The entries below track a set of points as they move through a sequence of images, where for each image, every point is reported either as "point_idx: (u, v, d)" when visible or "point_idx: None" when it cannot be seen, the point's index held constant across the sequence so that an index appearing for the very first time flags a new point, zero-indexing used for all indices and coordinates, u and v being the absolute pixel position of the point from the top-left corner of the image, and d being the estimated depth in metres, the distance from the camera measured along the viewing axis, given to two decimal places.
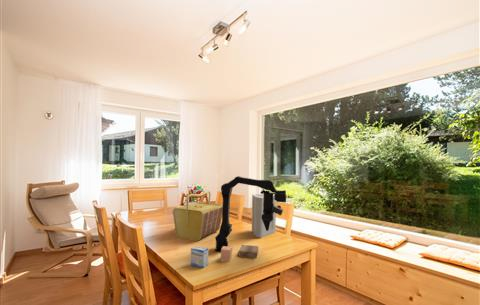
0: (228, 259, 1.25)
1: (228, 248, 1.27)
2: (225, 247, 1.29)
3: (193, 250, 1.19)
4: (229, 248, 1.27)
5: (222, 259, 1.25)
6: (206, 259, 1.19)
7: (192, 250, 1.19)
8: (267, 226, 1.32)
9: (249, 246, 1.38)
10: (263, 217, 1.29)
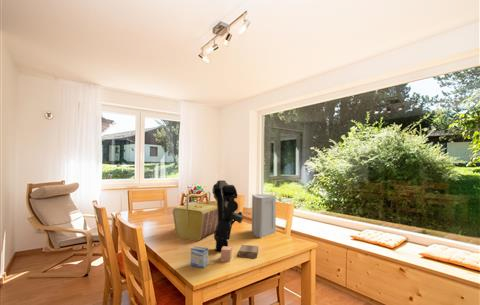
0: (228, 259, 1.25)
1: (228, 248, 1.27)
2: (225, 247, 1.29)
3: (193, 250, 1.19)
4: (229, 248, 1.27)
5: (222, 259, 1.25)
6: (206, 259, 1.19)
7: (192, 250, 1.19)
8: (225, 235, 1.23)
9: (249, 246, 1.38)
10: (219, 225, 1.20)
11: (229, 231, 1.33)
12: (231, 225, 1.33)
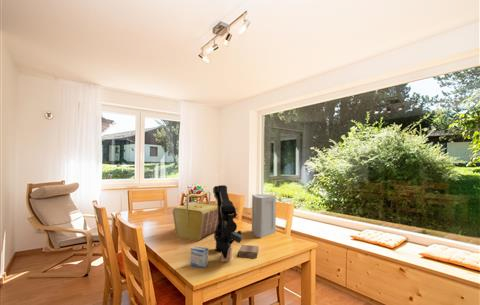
0: (228, 259, 1.25)
1: None
2: None
3: (193, 250, 1.19)
4: (229, 248, 1.27)
5: (222, 259, 1.25)
6: (206, 259, 1.19)
7: (192, 250, 1.19)
8: (225, 254, 1.24)
9: (249, 246, 1.38)
10: (218, 246, 1.19)
11: None
12: (230, 245, 1.31)
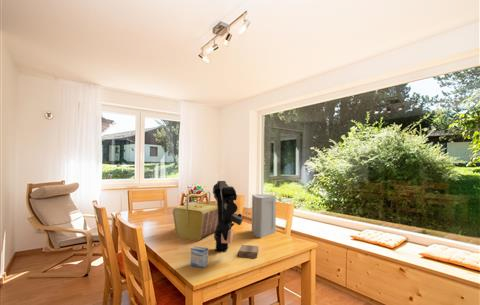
0: (228, 241, 1.25)
1: None
2: None
3: (193, 250, 1.19)
4: (229, 230, 1.28)
5: (222, 241, 1.26)
6: (206, 259, 1.19)
7: (192, 250, 1.19)
8: (225, 236, 1.25)
9: (249, 246, 1.38)
10: (219, 227, 1.20)
11: None
12: None
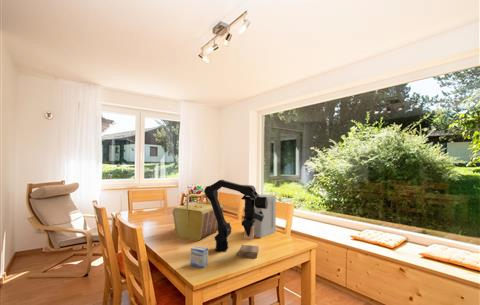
0: (251, 237, 1.33)
1: (251, 227, 1.36)
2: None
3: (193, 250, 1.19)
4: (251, 227, 1.36)
5: (245, 237, 1.34)
6: (206, 259, 1.19)
7: (192, 250, 1.19)
8: (248, 231, 1.33)
9: (249, 246, 1.38)
10: (243, 224, 1.28)
11: None
12: None
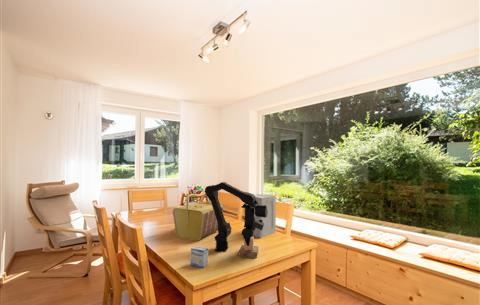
0: (251, 248, 1.33)
1: (250, 238, 1.36)
2: None
3: (193, 250, 1.19)
4: (251, 238, 1.36)
5: (245, 248, 1.34)
6: (206, 259, 1.19)
7: (192, 250, 1.19)
8: (248, 241, 1.31)
9: None
10: (243, 233, 1.27)
11: None
12: None
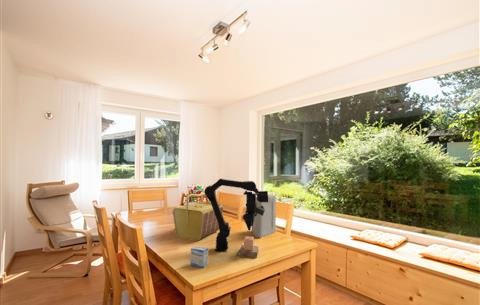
0: (251, 248, 1.33)
1: (250, 238, 1.36)
2: (247, 237, 1.37)
3: (193, 250, 1.19)
4: (251, 238, 1.36)
5: (245, 248, 1.34)
6: (206, 259, 1.19)
7: (192, 250, 1.19)
8: (249, 226, 1.36)
9: None
10: (244, 217, 1.33)
11: (252, 223, 1.46)
12: None
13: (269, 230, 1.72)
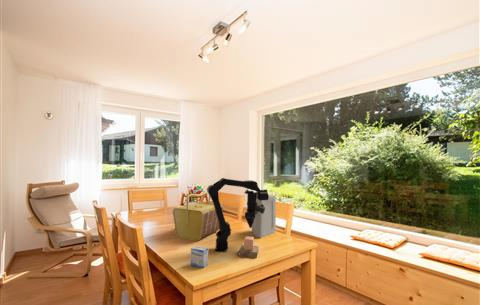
0: (251, 248, 1.33)
1: (250, 238, 1.36)
2: (247, 237, 1.37)
3: (193, 250, 1.19)
4: (251, 238, 1.36)
5: (245, 248, 1.34)
6: (206, 259, 1.19)
7: (192, 250, 1.19)
8: (250, 223, 1.42)
9: None
10: (246, 215, 1.38)
11: (252, 221, 1.51)
12: None
13: (269, 230, 1.72)
